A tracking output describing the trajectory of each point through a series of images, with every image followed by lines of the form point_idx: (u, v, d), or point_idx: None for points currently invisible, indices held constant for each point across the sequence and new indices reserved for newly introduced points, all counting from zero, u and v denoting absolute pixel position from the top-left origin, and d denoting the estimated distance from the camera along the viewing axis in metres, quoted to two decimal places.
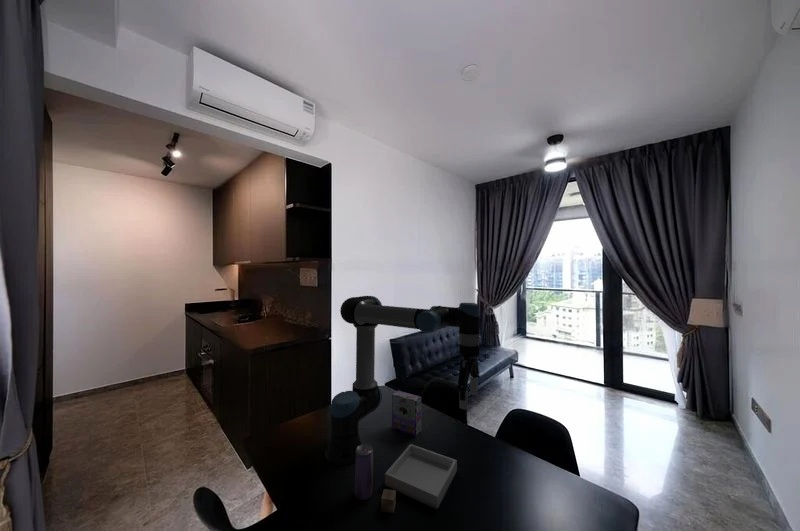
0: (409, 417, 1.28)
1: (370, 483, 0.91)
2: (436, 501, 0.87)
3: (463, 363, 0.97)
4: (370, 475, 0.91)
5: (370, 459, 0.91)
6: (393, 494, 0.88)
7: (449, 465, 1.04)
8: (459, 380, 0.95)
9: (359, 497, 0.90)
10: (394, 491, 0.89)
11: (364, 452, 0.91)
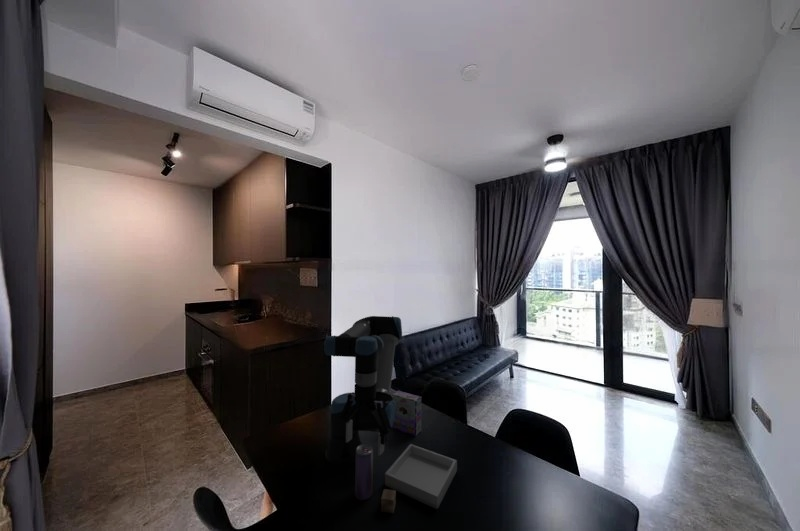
0: (409, 417, 1.28)
1: (370, 483, 0.91)
2: (436, 501, 0.87)
3: None
4: (370, 475, 0.91)
5: (370, 459, 0.91)
6: (393, 494, 0.88)
7: (449, 465, 1.04)
8: None
9: (359, 497, 0.90)
10: (394, 491, 0.89)
11: (364, 452, 0.91)
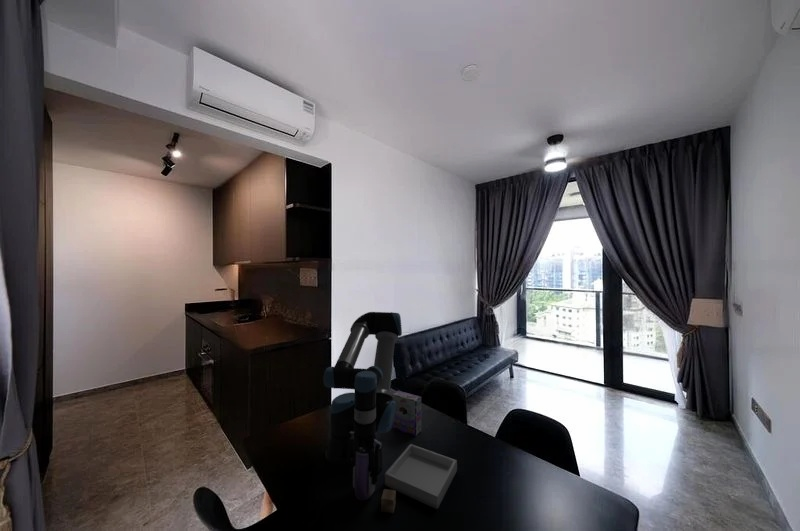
0: (409, 417, 1.28)
1: None
2: (436, 501, 0.87)
3: None
4: None
5: None
6: (393, 494, 0.88)
7: (449, 465, 1.04)
8: None
9: (359, 497, 0.90)
10: (394, 491, 0.89)
11: (364, 452, 0.91)
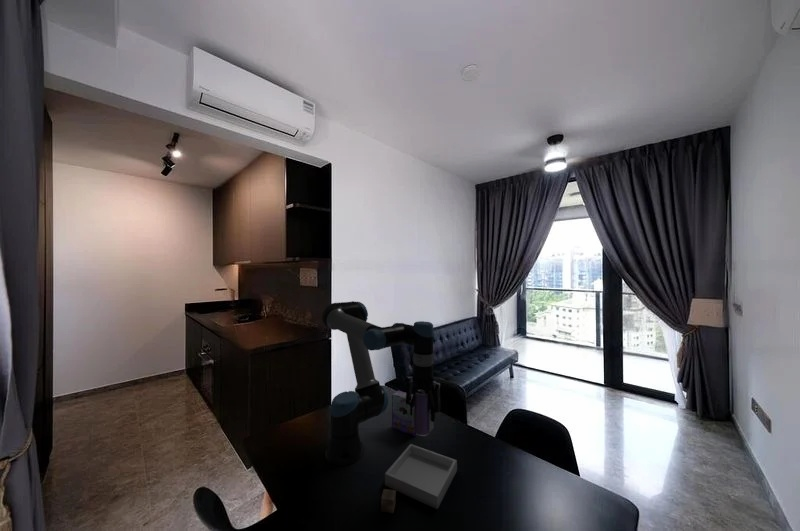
0: (409, 417, 1.28)
1: None
2: (436, 501, 0.87)
3: None
4: None
5: None
6: (393, 494, 0.88)
7: (449, 465, 1.04)
8: None
9: (420, 433, 0.98)
10: (394, 491, 0.89)
11: (423, 393, 1.00)
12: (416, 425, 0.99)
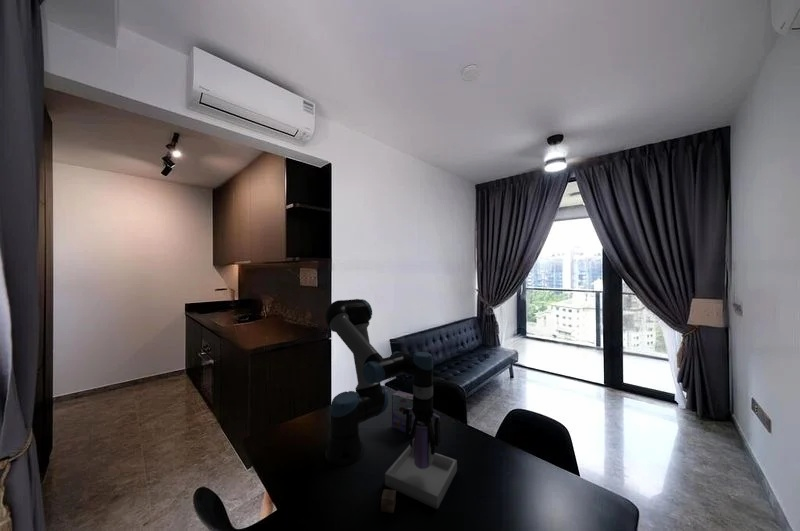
0: None
1: None
2: (436, 501, 0.87)
3: None
4: None
5: None
6: (393, 494, 0.88)
7: (449, 465, 1.04)
8: None
9: (420, 466, 0.98)
10: (394, 491, 0.89)
11: (423, 425, 0.99)
12: (416, 458, 0.99)
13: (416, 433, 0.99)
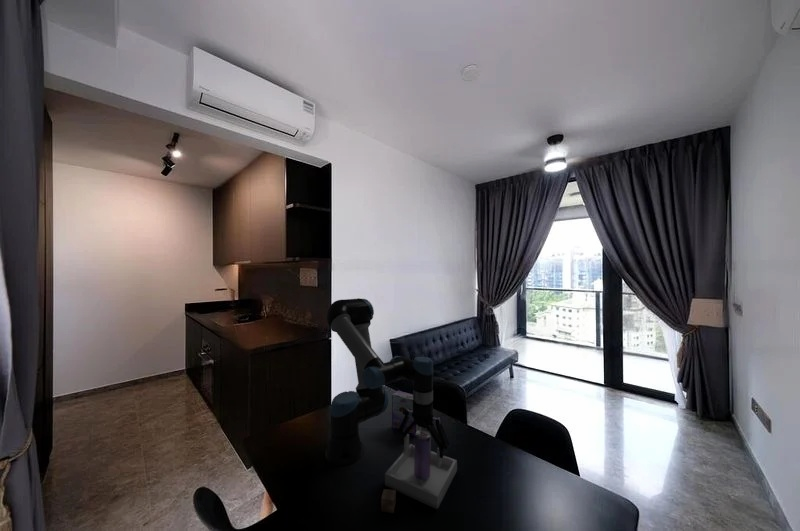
0: (409, 417, 1.28)
1: (429, 465, 0.99)
2: (436, 501, 0.87)
3: None
4: (429, 457, 0.99)
5: (429, 443, 0.99)
6: (393, 494, 0.88)
7: (449, 465, 1.04)
8: None
9: (419, 477, 0.97)
10: (394, 491, 0.89)
11: (423, 436, 0.99)
12: (416, 469, 0.98)
13: (416, 444, 0.99)
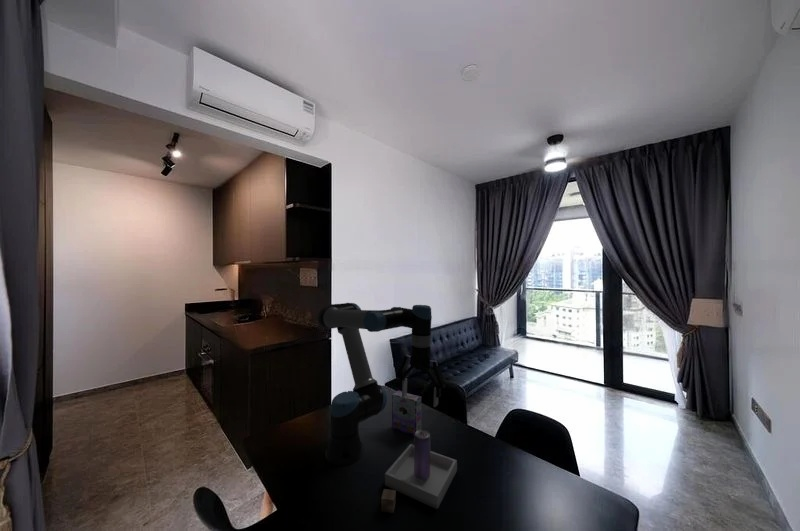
0: (409, 417, 1.28)
1: (429, 465, 0.99)
2: (436, 501, 0.87)
3: None
4: (429, 457, 0.99)
5: (429, 443, 0.99)
6: (393, 494, 0.88)
7: (449, 465, 1.04)
8: None
9: (419, 477, 0.97)
10: (394, 491, 0.89)
11: (423, 436, 0.99)
12: (416, 469, 0.98)
13: (416, 444, 0.99)
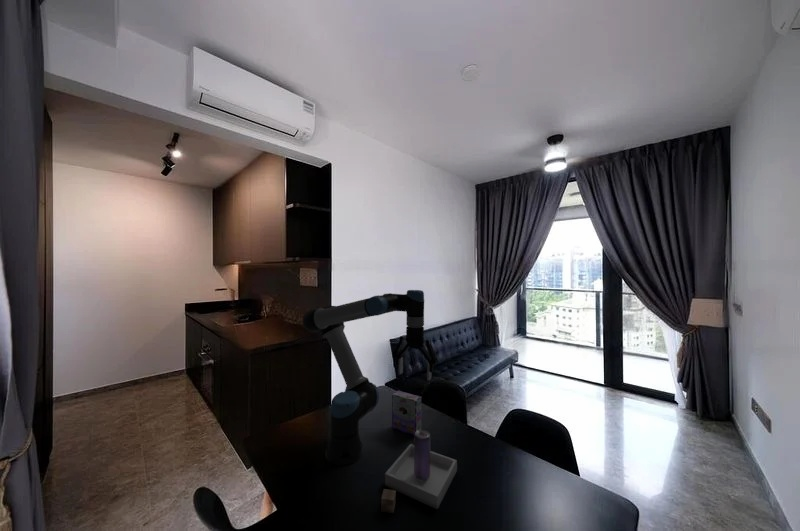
0: (409, 417, 1.28)
1: (429, 465, 0.99)
2: (436, 501, 0.87)
3: None
4: (429, 457, 0.99)
5: (429, 442, 0.99)
6: (393, 494, 0.88)
7: (449, 465, 1.04)
8: None
9: (419, 477, 0.97)
10: (394, 491, 0.89)
11: (423, 436, 0.99)
12: (416, 469, 0.99)
13: (416, 444, 0.99)
